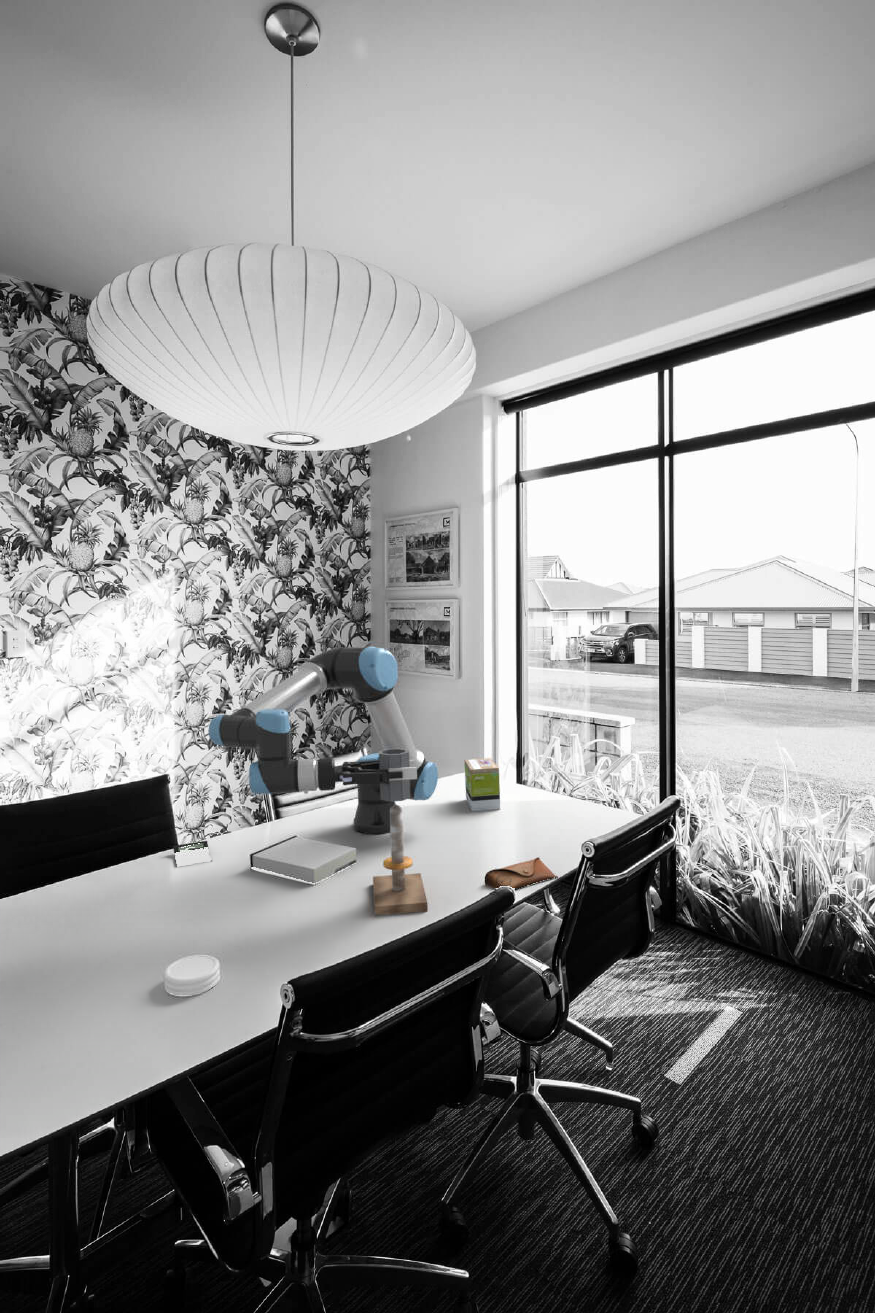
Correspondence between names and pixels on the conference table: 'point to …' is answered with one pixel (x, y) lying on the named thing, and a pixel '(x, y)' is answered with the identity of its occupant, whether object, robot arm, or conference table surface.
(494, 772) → the tea box
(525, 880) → the sunglasses case
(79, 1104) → the conference table surface
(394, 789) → the sleeve
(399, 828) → the post stand
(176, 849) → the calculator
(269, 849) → the disc drive
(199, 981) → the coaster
